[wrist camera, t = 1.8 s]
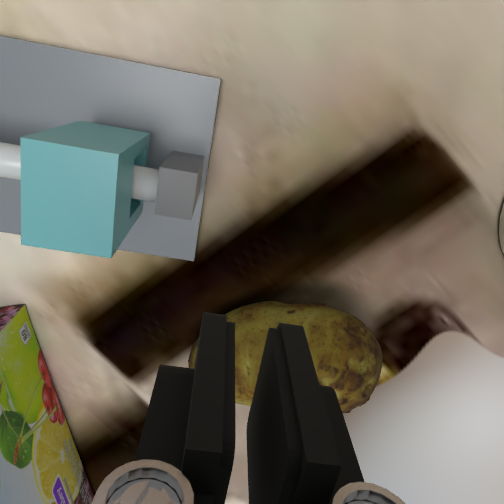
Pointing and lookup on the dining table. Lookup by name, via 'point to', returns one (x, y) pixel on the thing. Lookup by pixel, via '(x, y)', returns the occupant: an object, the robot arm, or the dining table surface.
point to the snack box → (33, 424)
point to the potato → (320, 344)
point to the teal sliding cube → (80, 187)
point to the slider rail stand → (117, 115)
